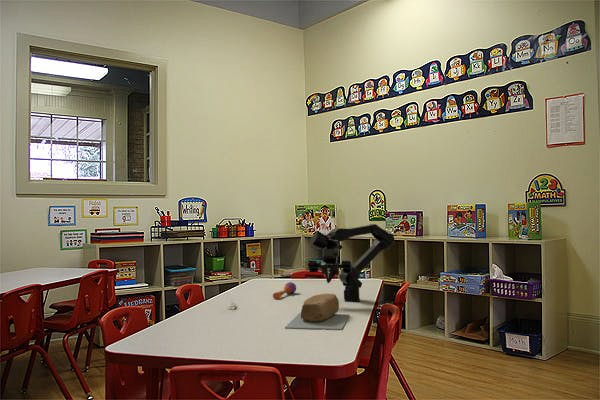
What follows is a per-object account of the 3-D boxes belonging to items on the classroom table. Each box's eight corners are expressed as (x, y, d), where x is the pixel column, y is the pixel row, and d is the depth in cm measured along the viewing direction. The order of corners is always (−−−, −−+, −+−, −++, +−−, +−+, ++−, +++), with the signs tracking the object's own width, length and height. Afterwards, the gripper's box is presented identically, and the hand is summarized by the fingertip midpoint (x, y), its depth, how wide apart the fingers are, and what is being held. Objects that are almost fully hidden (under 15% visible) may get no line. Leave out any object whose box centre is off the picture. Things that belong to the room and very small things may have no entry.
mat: (349, 315, 191) (349, 314, 191) (341, 329, 168) (341, 328, 168) (298, 314, 195) (298, 313, 195) (284, 328, 172) (284, 327, 172)
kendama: (269, 291, 233) (286, 282, 251) (271, 303, 233) (288, 293, 251) (280, 289, 231) (296, 280, 249) (282, 301, 231) (299, 291, 249)
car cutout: (227, 307, 215) (226, 297, 215) (241, 308, 214) (241, 297, 214) (215, 315, 200) (215, 303, 201) (231, 315, 199) (231, 304, 199)
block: (340, 293, 194) (322, 303, 176) (340, 312, 194) (322, 324, 176) (314, 292, 199) (294, 302, 180) (315, 310, 199) (295, 322, 180)
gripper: (308, 241, 215) (303, 270, 204) (350, 241, 211) (348, 271, 201) (311, 257, 223) (307, 286, 212) (352, 257, 219) (350, 287, 208)
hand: (328, 282), depth 208 cm, fingers closed
